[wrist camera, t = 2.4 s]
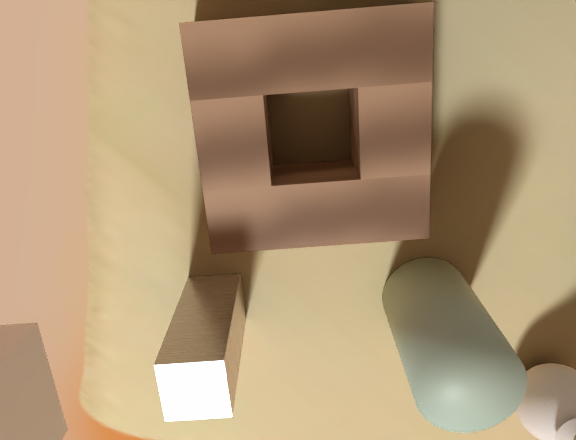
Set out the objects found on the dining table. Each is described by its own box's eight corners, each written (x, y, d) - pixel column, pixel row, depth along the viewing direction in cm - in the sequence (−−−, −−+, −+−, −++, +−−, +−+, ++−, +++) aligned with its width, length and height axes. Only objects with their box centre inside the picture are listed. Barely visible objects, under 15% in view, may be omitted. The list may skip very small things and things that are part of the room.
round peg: (381, 260, 39) (414, 344, 29) (468, 254, 39) (532, 336, 29) (382, 334, 42) (413, 436, 31) (464, 328, 42) (522, 429, 31)
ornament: (486, 386, 44) (540, 486, 34) (549, 322, 41) (625, 410, 32) (540, 419, 45) (606, 524, 35) (603, 358, 43) (692, 453, 33)
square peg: (188, 276, 40) (153, 364, 30) (240, 273, 40) (223, 360, 30) (195, 322, 41) (165, 421, 31) (245, 318, 41) (231, 417, 31)
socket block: (194, 22, 33) (179, 22, 29) (413, 4, 33) (433, 1, 28) (220, 225, 38) (211, 253, 34) (411, 211, 38) (429, 238, 33)
